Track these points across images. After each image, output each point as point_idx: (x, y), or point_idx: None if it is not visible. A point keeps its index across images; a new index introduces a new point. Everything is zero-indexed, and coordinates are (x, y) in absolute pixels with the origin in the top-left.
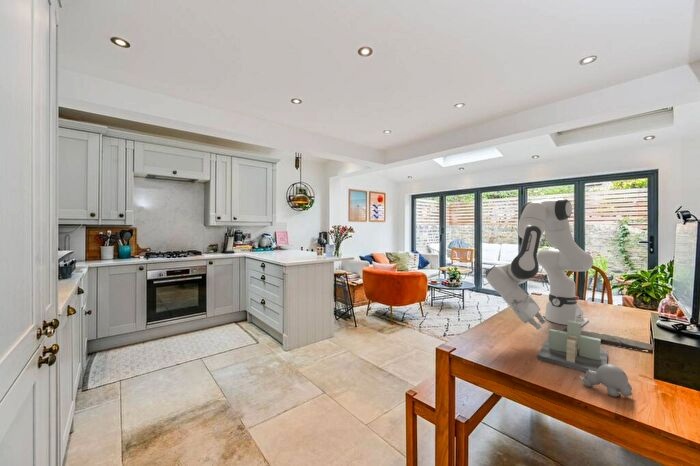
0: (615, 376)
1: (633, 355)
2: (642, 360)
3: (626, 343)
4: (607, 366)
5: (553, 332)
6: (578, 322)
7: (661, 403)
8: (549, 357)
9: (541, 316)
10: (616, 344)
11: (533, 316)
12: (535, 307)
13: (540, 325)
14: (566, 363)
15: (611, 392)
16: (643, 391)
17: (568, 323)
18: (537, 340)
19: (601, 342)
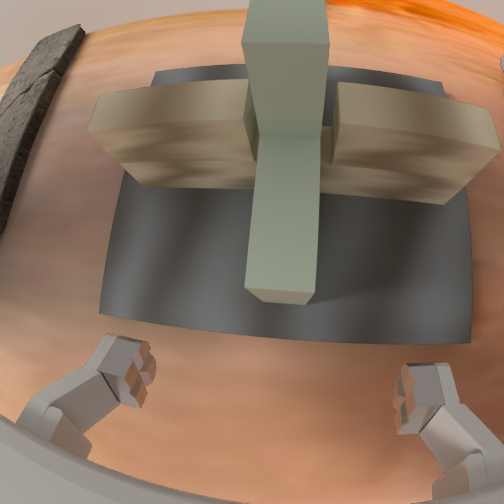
0: None
1: (124, 41)
2: (160, 23)
3: (54, 60)
4: None
5: (316, 252)
6: None
7: (470, 31)
8: (460, 284)
9: (78, 386)
10: (54, 83)
11: (500, 490)
12: (4, 493)
13: (420, 378)
14: (466, 205)
15: None
16: (440, 38)
17: (328, 54)
18: None
19: (40, 120)
